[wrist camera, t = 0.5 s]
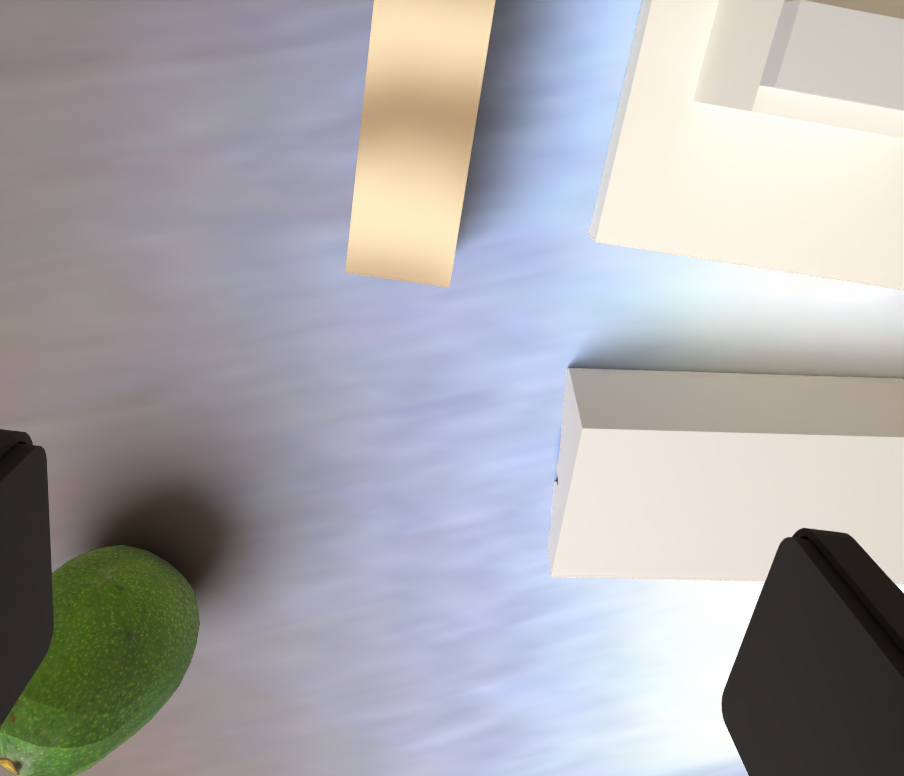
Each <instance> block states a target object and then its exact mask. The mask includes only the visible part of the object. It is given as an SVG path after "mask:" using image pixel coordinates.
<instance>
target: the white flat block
mask: <svg viewBox="0 0 904 776" xmlns="http://www.w3.org/2000/svg"><path fill="white" fill-rule="evenodd" d="M556 469H557V476H558V481H555V482H554V491H553V499H552V508H551V525H550V530H549V535H548V553H549V564H550V574H551V577H570V578H625V579H680V580H734V581H766V578H767V576H768V573H769V570H770V568H771V565H772V562H773V560H774V557H775V554H776V552H777V549H778V547H779V545H780V543H781V541H782V540H783V539H784V538H787V537H792V536H793V535H794V534H795V532H796V531H797V530H799V529H802V528H810V529H818V530H826V531H834V532H842V533H847V534H849V535H850V536H852V537H853V538H854V539H855V540H856V541H857V542H858V544H859V545H860V546H861V547H862V548H863V549H864V550H865V551H866V552H867V554H868V555H869V556H870V557H871V558H872V559H873V560H874V561H875V562H876V564H877V565H878V566H879V567H880V568H881V569H882V570H883V571H884V572H885V574H886V575H887V576H888V577H889V578H890V579H891V580H892V581H893V582H894V583H898V584H904V378H872V377H838V376H806V375H775V374H745V373H718V372H691V371H655V370H619V369H588V368H567V376H566V385H565V394H564V402H563V411H562V422H561V441H560V452H559V458H558V463H557V466H556Z"/></svg>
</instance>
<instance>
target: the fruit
mask: <svg viewBox="0 0 904 776" xmlns="http://www.w3.org/2000/svg"><path fill="white" fill-rule="evenodd" d="M52 593H53V616H54V630H53V636H52V640H51V644H50V646H49V649H48V652H47V654H46V655H45V657H44V659H43V661H42V662H41V664H40V665H39V667H38V669H37V670H36V672H35V673H34V675H33V676H32V678H31V680H30V681H29V683H28V684H27V686H26V687H25V689H24V691H23V692H22V694H21V695H20V697H19V699H18V700H17V702H16V703H15V705H14V706H13V708H12V710H11V711H10V713H9V714H8V716H7V717H6V719H5V721H4V722H3V724H2V725H1V727H0V766H1V767H2V768H4V769H5V770H7V771H9V772H10V773H12V774H14V775H15V776H75V775H77V774H79V773H81V772H83V771H85V770H87V769H89V768H91V767H92V766H93V765H95V764H96V763H97V762H99V761H100V760H101V759H103V758H104V757H105V756H107V755H108V754H109V753H110V752H112V751H113V750H114V749H116V748H117V747H118V746H120V745H121V744H122V743H124V742H125V741H126V740H128V739H129V738H130V737H131V736H133V735H134V734H135V733H136V732H137V731H139V730H140V729H141V728H142V727H143V726H144V725H145V724H147V723H148V722H149V721H150V720H151V719H152V718H153V717H154V716H155V715H156V713H157V712H158V711H159V710H160V709H161V708H162V707H163V705H164V704H165V703H166V702H167V701H168V700H169V698H170V697H171V696H172V694H173V693H174V692H175V691H176V689H177V688H178V687H179V685H180V683H181V681H182V679H183V677H184V675H185V673H186V671H187V669H188V667H189V665H190V663H191V659H192V656H193V653H194V650H195V647H196V643H197V637H198V631H199V625H200V621H199V613H198V606H197V601H196V596H195V592H194V590H193V589H192V587H191V586H190V584H189V583H188V581H187V580H186V579H185V577H184V576H183V575H182V574H181V573H180V572H179V571H178V570H177V569H175V568H174V567H173V566H172V565H171V564H170V563H169V562H167V561H165V560H164V559H162V558H160V557H158V556H157V555H155V554H153V553H151V552H149V551H148V550H145V549H140V548H135V547H130V546H125V545H116V546H110V547H104V548H99V549H96V550H93V551H89V552H87V553H84V554H82V555H80V556H78V557H76V558H74V559H72V560H70V561H68V562H66V563H65V564H64V565H62V566H61V567H60V568H58V569H57V570H56V571H54V572H53V573H52Z"/></svg>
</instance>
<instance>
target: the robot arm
mask: <svg viewBox="0 0 904 776" xmlns="http://www.w3.org/2000/svg"><path fill="white" fill-rule="evenodd" d="M53 630H54V616H53V593H52V570H51V547H50V525H49V502H48V479H47V459H46V453H45V450H44V448H42V447H41V446H35V445H33V444H32V440H31V438H30V436H29V435H28V434H27V433H26V432H19V431H11V430H3V429H0V727H1V725H2V724H3V722H4V721H5V719H6V717H7V716H8V714H9V713H10V711H11V710H12V708H13V706H14V705H15V703H16V702H17V700H18V699H19V697H20V695H21V694H22V692H23V691H24V689H25V687H26V686H27V684H28V683H29V681H30V680H31V678H32V676H33V675H34V673H35V672H36V670H37V669H38V667H39V665H40V664H41V662H42V661H43V659H44V657H45V655H46V654H47V652H48V649H49V646H50V644H51V640H52V636H53ZM722 713H723V718H724V721H725V724H726V726H727V729H728V731H729V733H730V735H731V737H732V740H733V742H734V744H735V746H736V748H737V750H738V753H739V755H740V757H741V759H742V761H743V764H744V766H745V768H746V770H747V772H748V775H749V776H904V593H903V592H902V591H901V590H900V589H899V588H898V587H897V586H896V585H895V583H894V582H893V581H892V580H891V579H890V578H889V577H888V576H887V575H886V574H885V572H884V571H883V570H882V569H881V568H880V567H879V566H878V565H877V564H876V562H875V561H874V560H873V559H872V558H871V557H870V556H869V555H868V554H867V552H866V551H865V550H864V549H863V548H862V547H861V546H860V545H859V544H858V542H857V541H856V540H855V539H854V538H853V537H852V536H850V535H849V534H847V533H842V532H834V531H826V530H818V529H810V528H802V529H799V530H797V531H796V532H795V534H794V535H793V536H792V537H787V538H784V539H783V540H782V541H781V543H780V545H779V547H778V549H777V552H776V554H775V557H774V560H773V562H772V565H771V568H770V570H769V573H768V576H767V578H766V581H765V583H764V586H763V589H762V591H761V594H760V597H759V599H758V602H757V605H756V607H755V610H754V613H753V615H752V618H751V620H750V623H749V626H748V628H747V631H746V634H745V636H744V639H743V642H742V644H741V647H740V649H739V652H738V655H737V657H736V660H735V663H734V665H733V668H732V671H731V673H730V676H729V679H728V681H727V684H726V686H725V689H724V692H723V696H722Z"/></svg>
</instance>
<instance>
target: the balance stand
mask: <svg viewBox="0 0 904 776" xmlns="http://www.w3.org/2000/svg"><path fill="white" fill-rule="evenodd" d="M588 235H589V236H590V237H591V238H592V239H593V240H594V241H595V242H599V243H606V244H612V245H619V246H625V247H631V248H638V249H644V250H650V251H657V252H663V253H670V254H676V255H682V256H689V257H695V258H701V259H708V260H714V261H721V262H727V263H733V264H740V265H746V266H752V267H759V268H765V269H772V270H778V271H784V272H791V273H797V274H803V275H810V276H816V277H823V278H829V279H835V280H842V281H848V282H855V283H861V284H867V285H874V286H880V287H886V288H893V289H899V290H904V0H642V4H641V8H640V12H639V17H638V21H637V25H636V30H635V34H634V38H633V43H632V47H631V51H630V56H629V60H628V64H627V69H626V73H625V77H624V82H623V86H622V90H621V95H620V99H619V103H618V108H617V112H616V116H615V121H614V125H613V129H612V134H611V138H610V142H609V147H608V151H607V155H606V160H605V164H604V168H603V173H602V177H601V181H600V186H599V190H598V194H597V199H596V203H595V207H594V211H593V216H592V220H591V224H590V229H589V233H588Z"/></svg>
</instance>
